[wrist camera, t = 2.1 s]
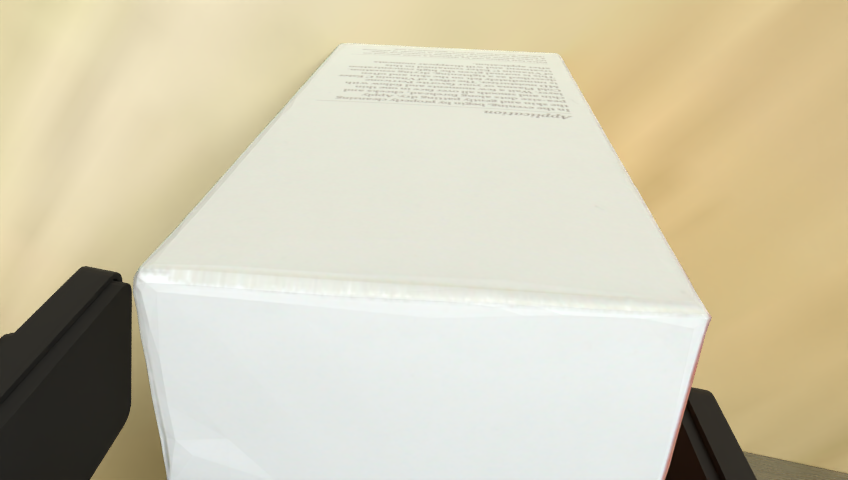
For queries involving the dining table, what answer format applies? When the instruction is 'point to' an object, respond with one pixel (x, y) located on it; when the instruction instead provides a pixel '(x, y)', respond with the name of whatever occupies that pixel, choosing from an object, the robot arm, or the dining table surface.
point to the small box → (421, 288)
